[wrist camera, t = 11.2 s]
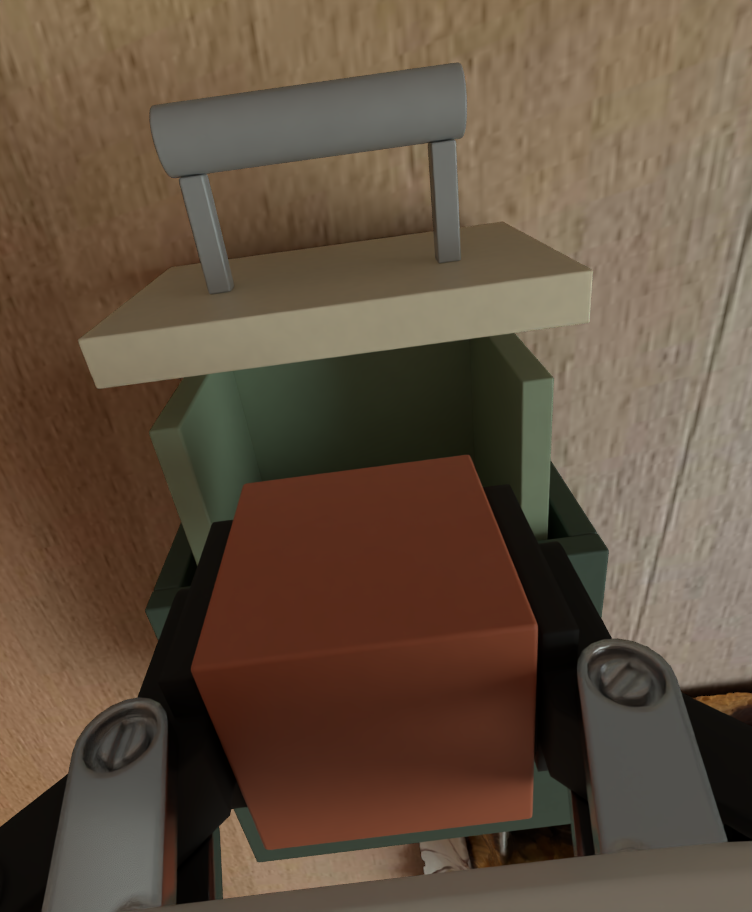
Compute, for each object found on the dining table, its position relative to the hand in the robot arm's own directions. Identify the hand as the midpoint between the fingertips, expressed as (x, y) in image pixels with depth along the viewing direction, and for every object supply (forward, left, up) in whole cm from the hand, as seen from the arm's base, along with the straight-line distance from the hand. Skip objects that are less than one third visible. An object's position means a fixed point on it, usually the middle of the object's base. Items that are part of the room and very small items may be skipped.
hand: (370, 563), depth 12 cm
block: (0, 0, 0) cm, 0 cm away
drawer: (0, 0, -11) cm, 11 cm away
